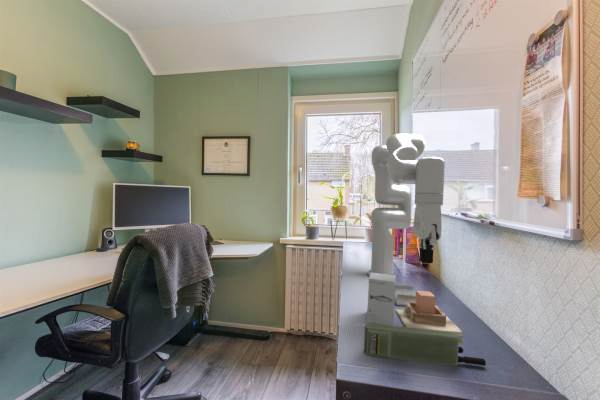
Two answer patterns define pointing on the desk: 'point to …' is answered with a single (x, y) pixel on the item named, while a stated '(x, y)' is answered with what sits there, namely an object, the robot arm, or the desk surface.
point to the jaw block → (425, 302)
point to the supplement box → (381, 299)
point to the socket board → (426, 319)
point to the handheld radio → (415, 345)
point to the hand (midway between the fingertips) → (426, 262)
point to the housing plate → (404, 294)
